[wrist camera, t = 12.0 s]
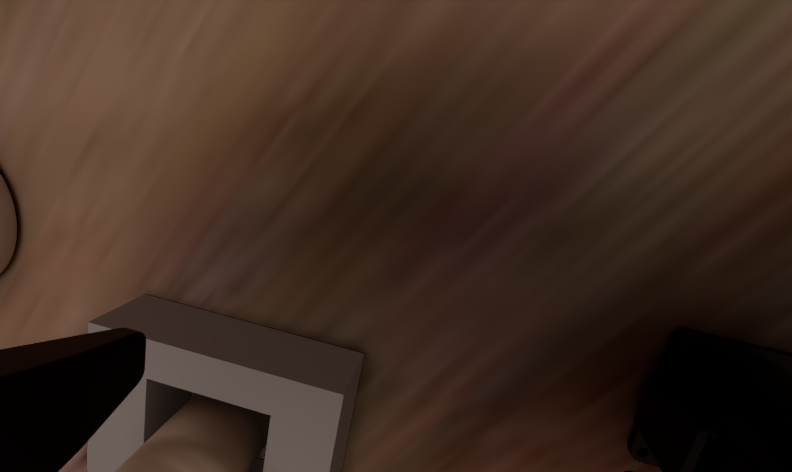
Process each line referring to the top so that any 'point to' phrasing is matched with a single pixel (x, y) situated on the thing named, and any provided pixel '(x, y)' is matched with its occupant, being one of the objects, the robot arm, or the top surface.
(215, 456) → the peg
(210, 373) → the socket
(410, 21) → the top surface
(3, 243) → the fruit juice
